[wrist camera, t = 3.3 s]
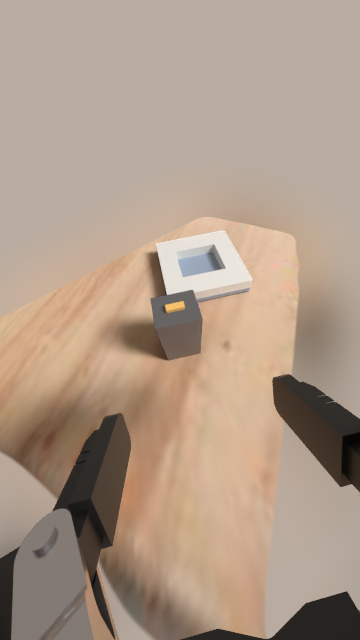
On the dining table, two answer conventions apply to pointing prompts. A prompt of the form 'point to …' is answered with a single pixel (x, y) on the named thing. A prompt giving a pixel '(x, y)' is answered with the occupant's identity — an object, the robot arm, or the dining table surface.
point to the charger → (178, 323)
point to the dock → (203, 266)
